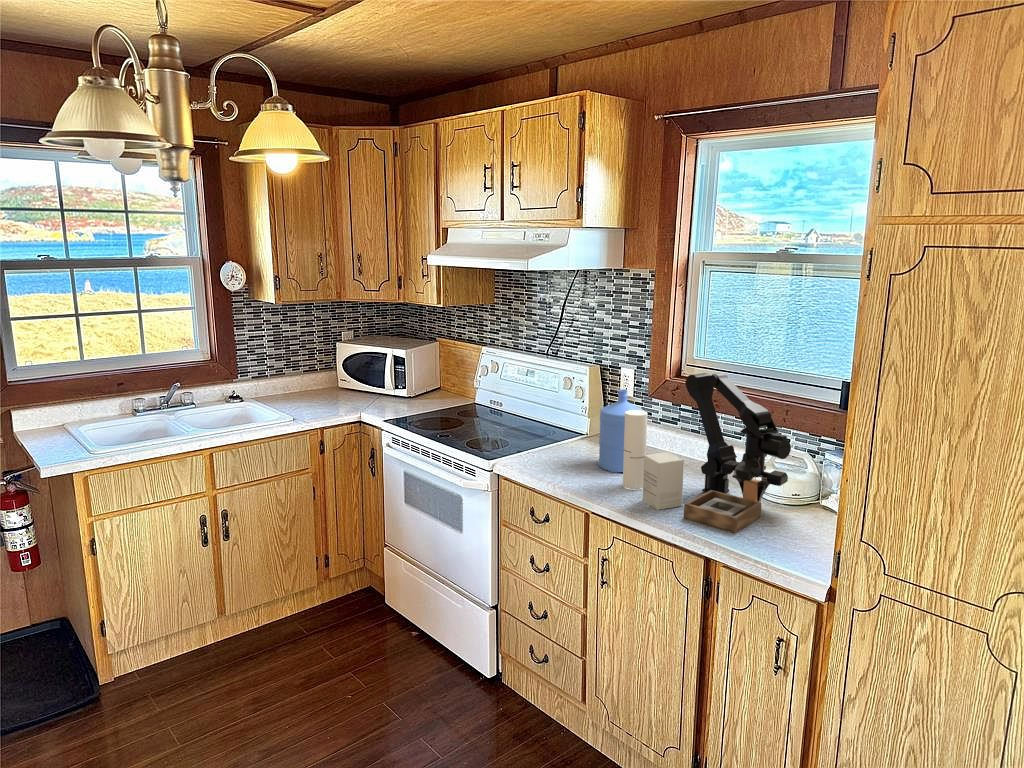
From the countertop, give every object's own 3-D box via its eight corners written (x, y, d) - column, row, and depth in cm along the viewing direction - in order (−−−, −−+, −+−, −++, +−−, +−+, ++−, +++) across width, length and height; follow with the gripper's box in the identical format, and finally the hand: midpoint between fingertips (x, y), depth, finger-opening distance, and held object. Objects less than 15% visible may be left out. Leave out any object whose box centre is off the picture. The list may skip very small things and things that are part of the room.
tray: (683, 518, 203) (684, 503, 202) (710, 503, 214) (711, 489, 213) (735, 533, 192) (736, 518, 191) (760, 517, 203) (761, 502, 202)
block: (742, 505, 212) (743, 481, 211) (748, 502, 215) (749, 477, 213) (754, 509, 209) (756, 484, 208) (760, 505, 212) (762, 480, 211)
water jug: (613, 476, 239) (616, 396, 234) (590, 463, 253) (592, 388, 248) (651, 470, 246) (654, 392, 240) (626, 457, 260) (629, 384, 254)
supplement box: (666, 496, 220) (668, 451, 217) (682, 506, 212) (685, 459, 209) (641, 500, 217) (643, 454, 214) (656, 510, 209) (658, 462, 206)
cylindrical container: (631, 481, 234) (633, 409, 229) (649, 486, 229) (651, 412, 224) (618, 486, 229) (620, 412, 224) (636, 491, 224) (638, 416, 219)
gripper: (713, 449, 209) (710, 498, 212) (774, 463, 197) (770, 515, 200) (731, 442, 217) (728, 489, 220) (790, 454, 205) (786, 504, 208)
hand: (751, 499), depth 212 cm, fingers closed on block, 4 cm apart
